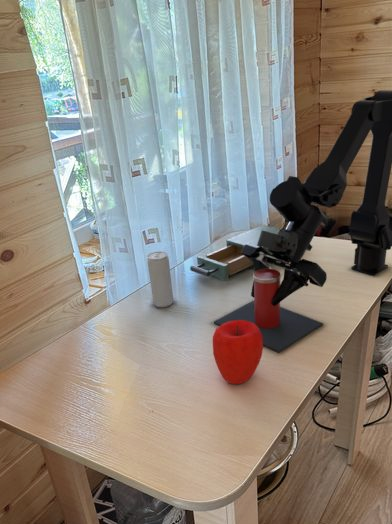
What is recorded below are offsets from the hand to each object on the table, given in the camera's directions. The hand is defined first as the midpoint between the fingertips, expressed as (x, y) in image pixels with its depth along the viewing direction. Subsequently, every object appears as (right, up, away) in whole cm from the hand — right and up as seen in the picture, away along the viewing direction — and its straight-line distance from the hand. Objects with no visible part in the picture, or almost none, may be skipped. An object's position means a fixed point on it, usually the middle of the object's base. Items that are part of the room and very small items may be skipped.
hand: (262, 300), depth 104 cm
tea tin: (+1, -4, +4) cm, 6 cm away
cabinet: (+4, +15, +35) cm, 39 cm away
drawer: (-6, +11, +28) cm, 30 cm away
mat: (+2, -5, +4) cm, 6 cm away
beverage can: (-21, +1, +16) cm, 27 cm away
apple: (-6, -15, -12) cm, 20 cm away
